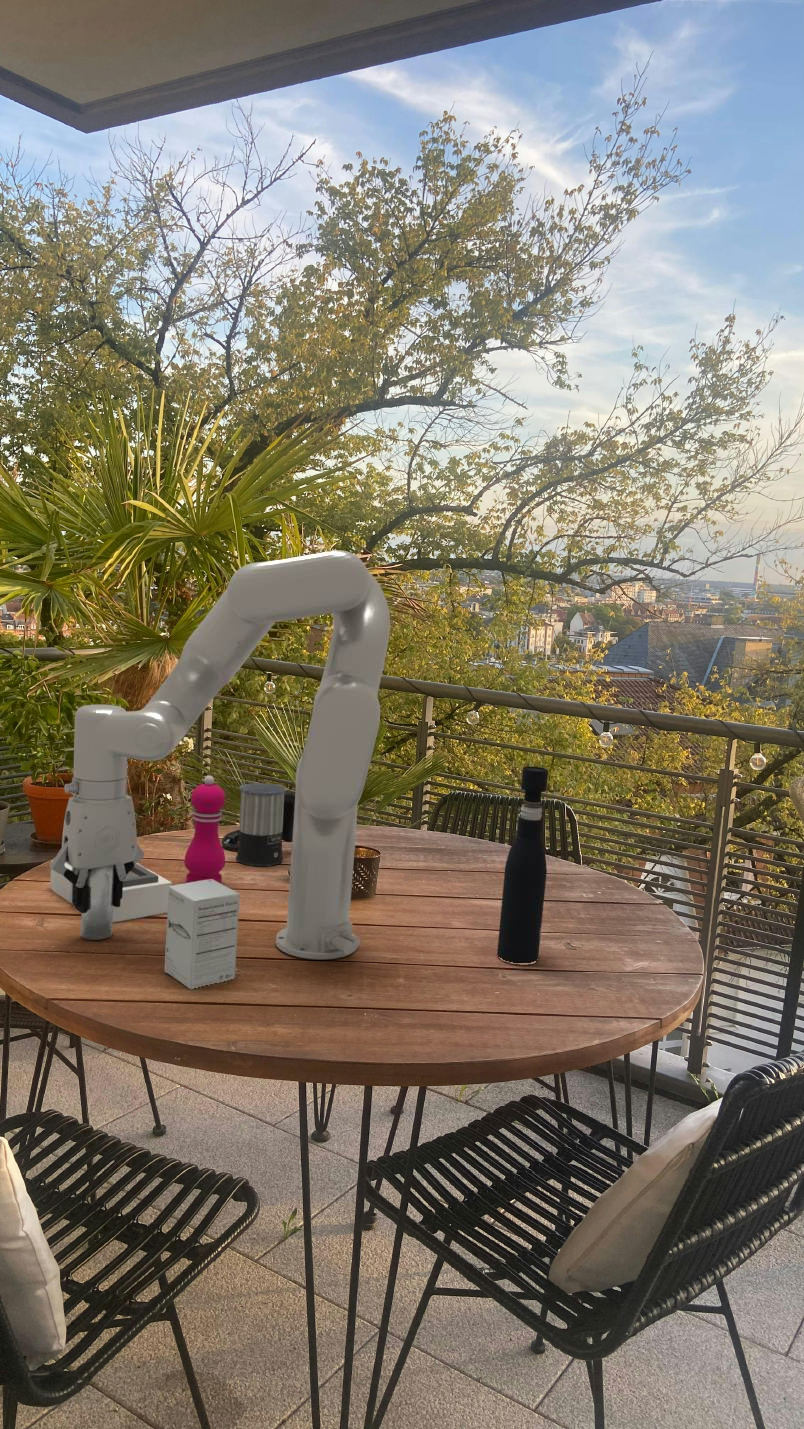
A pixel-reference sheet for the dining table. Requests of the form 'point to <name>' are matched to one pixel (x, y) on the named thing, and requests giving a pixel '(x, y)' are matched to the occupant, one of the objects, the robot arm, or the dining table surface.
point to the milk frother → (262, 824)
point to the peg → (98, 904)
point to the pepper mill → (206, 834)
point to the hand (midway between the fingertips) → (97, 906)
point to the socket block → (127, 893)
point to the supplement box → (201, 933)
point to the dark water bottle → (525, 877)
